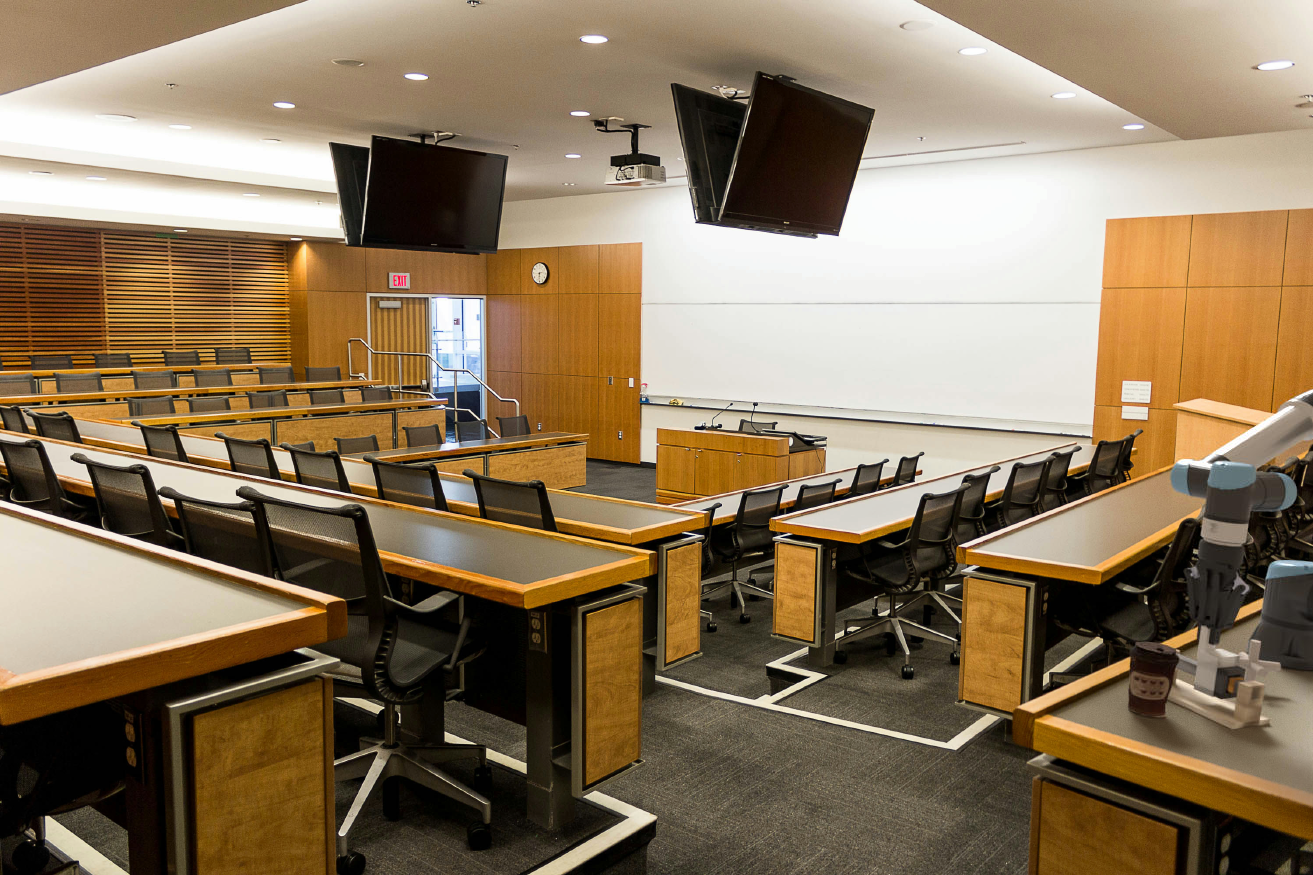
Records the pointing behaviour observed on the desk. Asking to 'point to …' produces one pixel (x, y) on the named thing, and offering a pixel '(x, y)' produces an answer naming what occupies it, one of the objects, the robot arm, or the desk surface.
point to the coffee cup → (1151, 677)
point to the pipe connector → (1256, 662)
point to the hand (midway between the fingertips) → (1205, 658)
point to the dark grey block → (1222, 681)
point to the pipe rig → (1220, 709)
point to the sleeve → (1212, 668)
